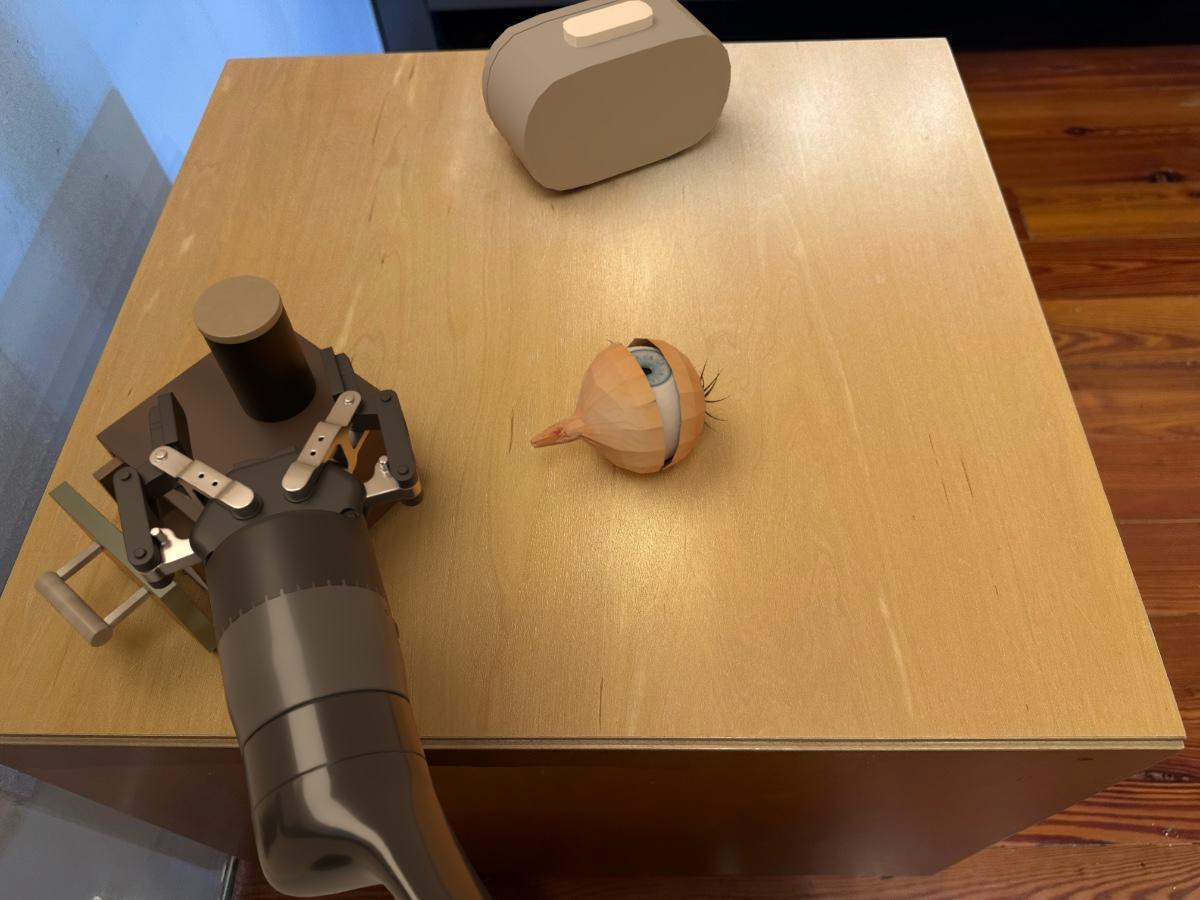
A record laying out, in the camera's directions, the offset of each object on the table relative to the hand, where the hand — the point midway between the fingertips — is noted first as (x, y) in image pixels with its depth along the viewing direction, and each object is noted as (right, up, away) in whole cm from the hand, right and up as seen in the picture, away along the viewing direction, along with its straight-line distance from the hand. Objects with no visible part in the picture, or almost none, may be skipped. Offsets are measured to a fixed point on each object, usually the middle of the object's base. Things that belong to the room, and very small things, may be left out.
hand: (251, 379), depth 50 cm
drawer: (-8, -11, +12) cm, 18 cm away
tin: (-2, 0, +9) cm, 9 cm away
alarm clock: (+20, +25, +39) cm, 50 cm away
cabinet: (-3, -7, +16) cm, 18 cm away
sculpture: (+21, -4, +18) cm, 28 cm away
